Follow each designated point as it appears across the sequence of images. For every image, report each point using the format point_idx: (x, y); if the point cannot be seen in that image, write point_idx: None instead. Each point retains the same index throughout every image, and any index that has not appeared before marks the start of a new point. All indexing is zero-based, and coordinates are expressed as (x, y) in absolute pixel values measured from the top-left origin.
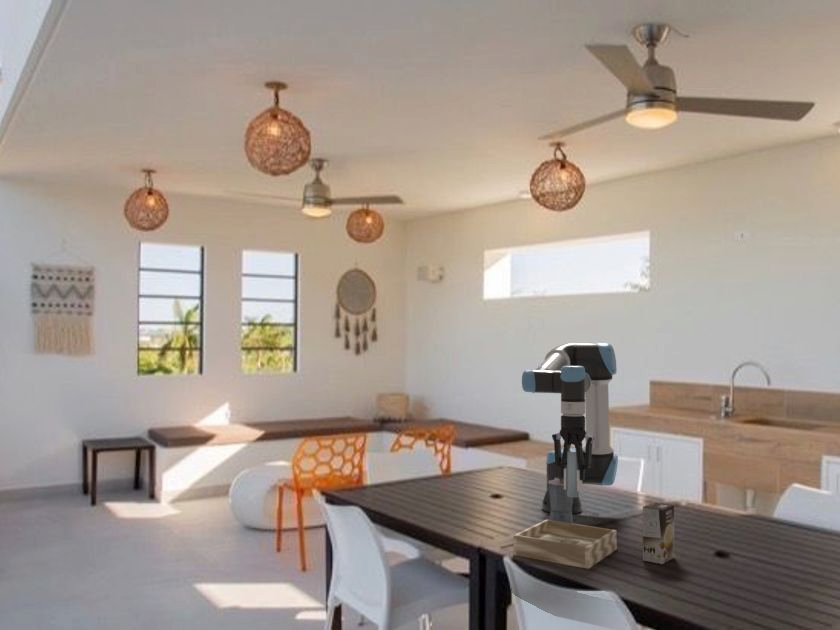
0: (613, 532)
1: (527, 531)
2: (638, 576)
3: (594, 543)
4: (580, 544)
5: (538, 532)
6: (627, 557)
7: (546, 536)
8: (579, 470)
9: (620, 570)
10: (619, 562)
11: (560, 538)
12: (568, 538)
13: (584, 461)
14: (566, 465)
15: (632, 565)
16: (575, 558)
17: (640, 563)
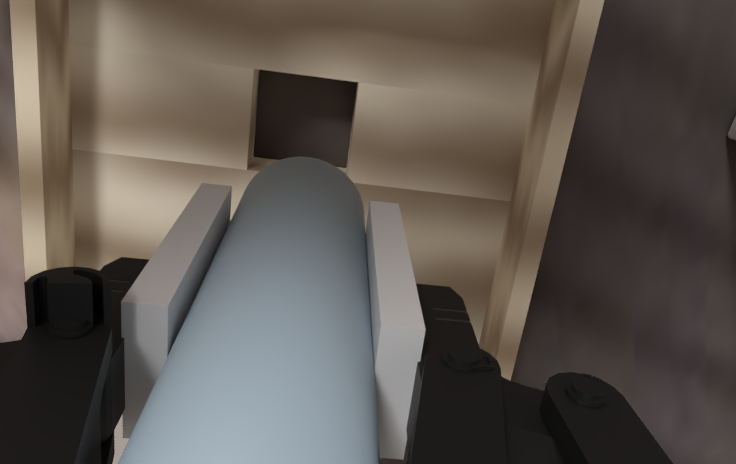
0: (594, 39)
1: (49, 264)
2: (700, 382)
3: (512, 360)
4: (379, 154)
5: (60, 84)
6: (641, 111)
7: (121, 68)
8: (405, 434)
9: (618, 339)
10: (604, 221)
11: (222, 73)
12: (269, 48)
13: (504, 434)
14: (109, 358)
15: (671, 241)
16: None
17: (711, 189)
